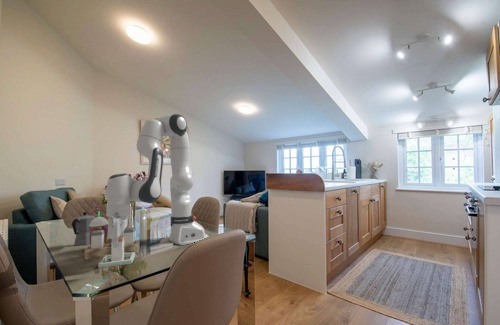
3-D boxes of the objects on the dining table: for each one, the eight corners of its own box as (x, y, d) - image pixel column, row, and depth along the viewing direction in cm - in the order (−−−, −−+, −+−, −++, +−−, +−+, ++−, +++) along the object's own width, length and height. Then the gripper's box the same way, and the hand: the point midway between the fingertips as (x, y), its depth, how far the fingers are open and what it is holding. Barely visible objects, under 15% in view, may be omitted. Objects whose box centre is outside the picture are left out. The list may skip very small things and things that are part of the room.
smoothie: (90, 250, 116) (91, 210, 117) (109, 247, 119) (110, 209, 120) (86, 255, 108) (86, 213, 109) (106, 253, 112) (107, 212, 113)
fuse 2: (134, 249, 111) (134, 227, 112) (133, 252, 107) (133, 229, 108) (125, 251, 110) (125, 228, 110) (123, 253, 106) (123, 230, 106)
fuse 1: (104, 253, 107) (104, 229, 107) (101, 256, 103) (101, 232, 104) (93, 254, 106) (94, 230, 106) (90, 257, 102) (91, 232, 102)
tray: (135, 258, 104) (135, 251, 104) (131, 267, 95) (131, 259, 95) (105, 262, 100) (105, 255, 100) (98, 271, 91) (98, 264, 91)
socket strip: (139, 251, 113) (139, 240, 113) (137, 256, 107) (137, 244, 107) (89, 257, 106) (90, 245, 107) (84, 263, 100) (84, 250, 100)
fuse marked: (124, 260, 100) (124, 235, 100) (122, 264, 96) (122, 238, 96) (113, 262, 99) (113, 236, 99) (111, 265, 95) (111, 239, 95)
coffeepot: (84, 241, 131) (84, 210, 132) (100, 241, 131) (101, 209, 132) (62, 250, 116) (63, 215, 116) (81, 250, 116) (82, 215, 117)
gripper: (121, 215, 89) (121, 250, 89) (130, 207, 109) (130, 236, 108) (103, 216, 87) (102, 252, 87) (115, 208, 107) (115, 238, 106)
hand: (118, 243), depth 98 cm, fingers open, 8 cm apart
